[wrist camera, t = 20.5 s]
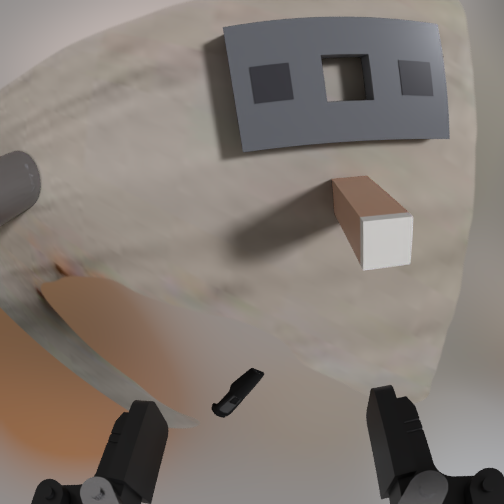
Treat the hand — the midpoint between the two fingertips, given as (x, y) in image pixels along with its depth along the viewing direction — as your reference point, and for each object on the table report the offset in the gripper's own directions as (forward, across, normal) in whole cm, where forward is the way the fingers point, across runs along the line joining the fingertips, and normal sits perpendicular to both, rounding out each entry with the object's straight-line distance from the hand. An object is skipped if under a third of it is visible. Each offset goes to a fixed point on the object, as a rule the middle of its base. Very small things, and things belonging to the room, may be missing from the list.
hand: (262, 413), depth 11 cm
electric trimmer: (+31, -10, -35) cm, 47 cm away
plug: (+30, +10, -2) cm, 32 cm away
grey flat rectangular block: (+30, +10, +12) cm, 34 cm away
